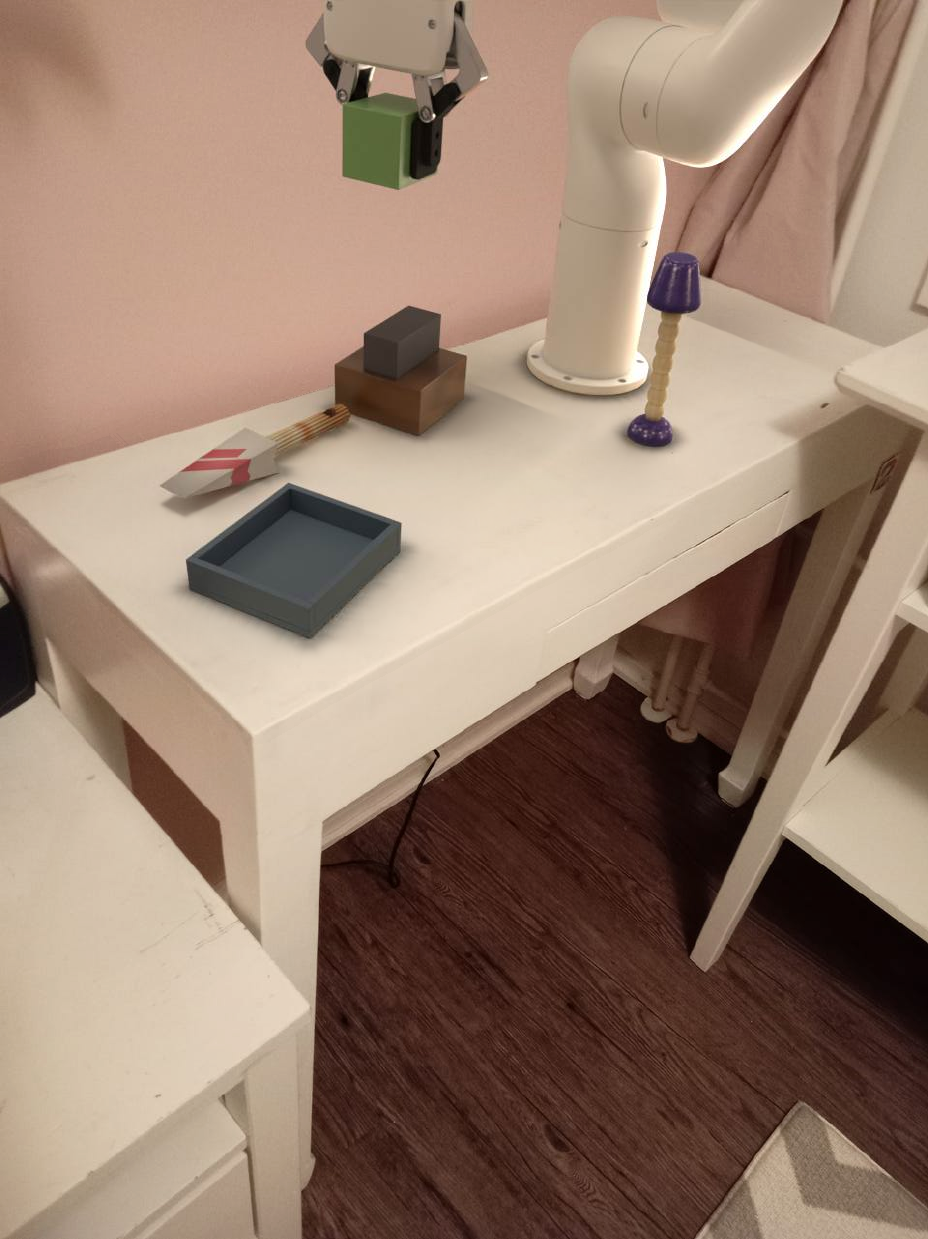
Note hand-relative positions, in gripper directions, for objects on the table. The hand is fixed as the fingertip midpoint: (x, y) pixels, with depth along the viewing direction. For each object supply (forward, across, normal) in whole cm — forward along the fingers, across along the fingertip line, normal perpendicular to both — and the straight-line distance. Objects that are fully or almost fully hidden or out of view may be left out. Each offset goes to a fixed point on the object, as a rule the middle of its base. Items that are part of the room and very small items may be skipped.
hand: (390, 165), depth 75 cm
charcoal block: (+18, +1, -5) cm, 19 cm away
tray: (+23, -6, +22) cm, 32 cm away
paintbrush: (+23, +5, +11) cm, 26 cm away
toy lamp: (+23, -21, -13) cm, 33 cm away
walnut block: (+23, +1, -5) cm, 23 cm away
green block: (+1, 0, 0) cm, 1 cm away
